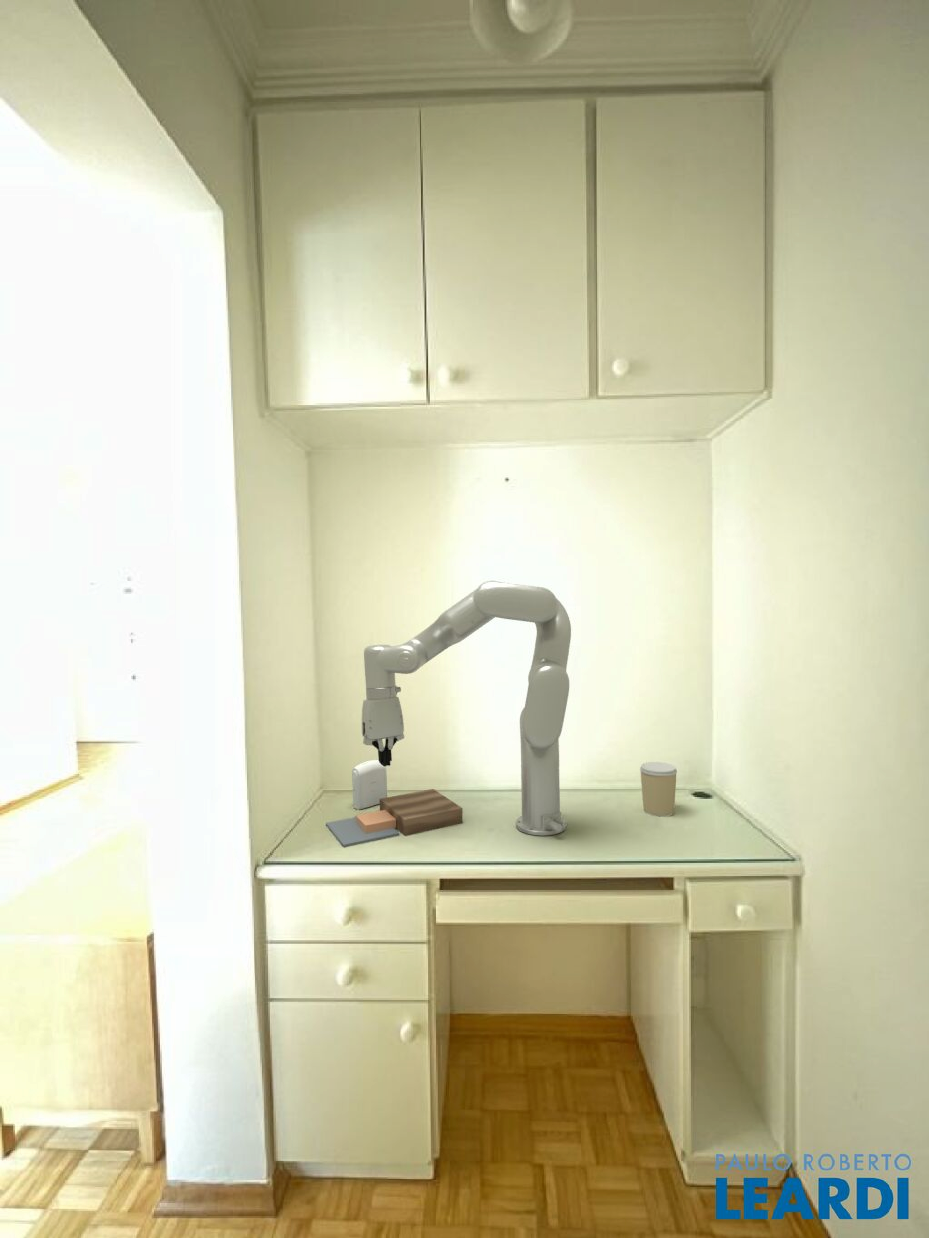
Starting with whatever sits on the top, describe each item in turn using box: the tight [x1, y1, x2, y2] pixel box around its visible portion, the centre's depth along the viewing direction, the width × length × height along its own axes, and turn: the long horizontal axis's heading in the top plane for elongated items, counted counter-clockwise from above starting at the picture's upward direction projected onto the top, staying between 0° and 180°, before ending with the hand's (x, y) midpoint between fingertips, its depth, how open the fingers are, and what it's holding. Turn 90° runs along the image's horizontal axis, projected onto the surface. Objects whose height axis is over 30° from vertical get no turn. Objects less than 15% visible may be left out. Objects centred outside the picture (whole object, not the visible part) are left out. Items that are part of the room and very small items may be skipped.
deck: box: [379, 788, 464, 837], centre depth 159 cm, size 18×16×4 cm
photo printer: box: [351, 759, 388, 810], centre depth 171 cm, size 10×4×12 cm, turn 133°
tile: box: [355, 810, 396, 833], centre depth 154 cm, size 8×8×2 cm
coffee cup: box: [639, 761, 678, 817], centre depth 161 cm, size 9×9×12 cm
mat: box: [325, 816, 400, 848], centre depth 152 cm, size 16×14×1 cm
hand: (385, 764), depth 154 cm, fingers closed
